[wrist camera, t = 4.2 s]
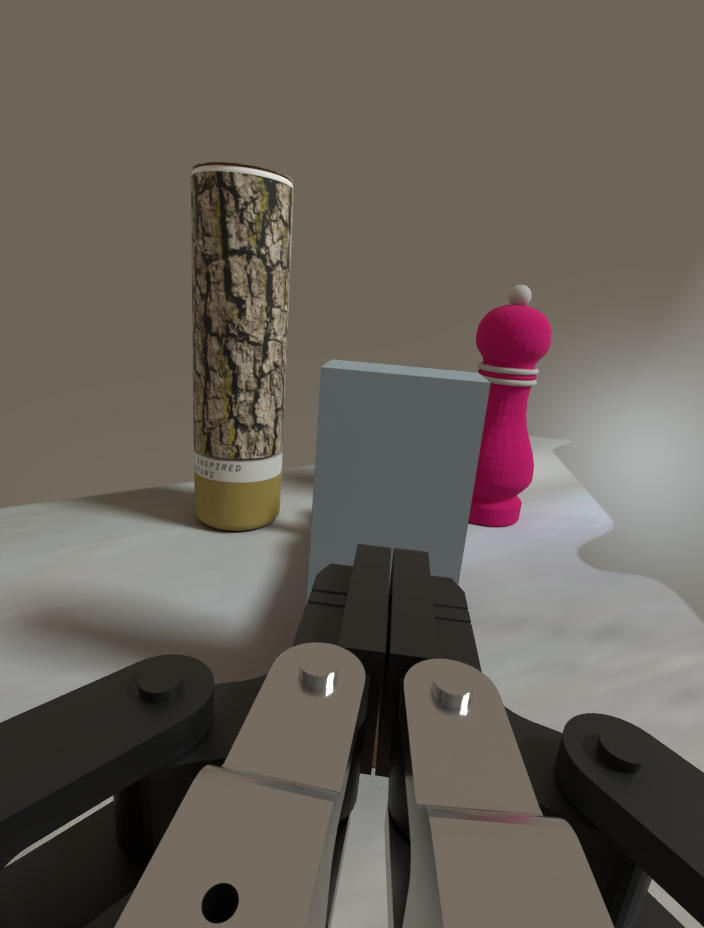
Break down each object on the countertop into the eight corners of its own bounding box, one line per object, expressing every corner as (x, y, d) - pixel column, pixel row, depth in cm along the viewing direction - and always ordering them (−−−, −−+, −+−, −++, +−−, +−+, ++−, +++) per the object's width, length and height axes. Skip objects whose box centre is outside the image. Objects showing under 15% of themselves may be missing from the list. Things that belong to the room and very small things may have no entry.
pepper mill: (493, 497, 52) (529, 289, 46) (541, 526, 45) (590, 288, 39) (430, 501, 49) (459, 281, 43) (471, 532, 43) (512, 279, 37)
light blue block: (300, 691, 22) (320, 366, 18) (312, 648, 25) (332, 359, 21) (438, 710, 22) (490, 382, 18) (434, 664, 25) (478, 373, 21)
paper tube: (262, 540, 38) (275, 164, 31) (178, 526, 39) (171, 160, 32) (289, 508, 45) (305, 190, 37) (216, 497, 46) (218, 186, 38)
